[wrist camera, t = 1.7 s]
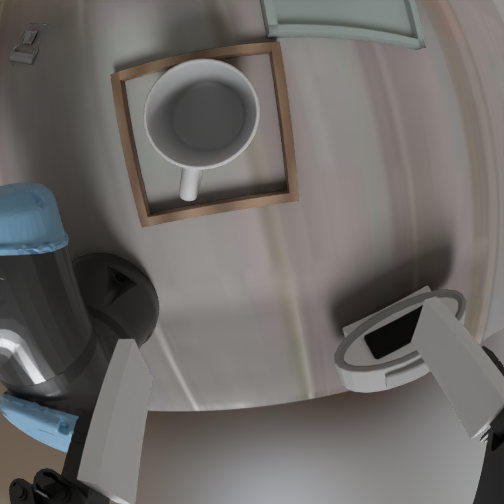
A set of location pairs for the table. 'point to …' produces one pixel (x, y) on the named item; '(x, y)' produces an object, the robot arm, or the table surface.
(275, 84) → the frame
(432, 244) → the table surface
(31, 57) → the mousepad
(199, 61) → the mug
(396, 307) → the alarm clock
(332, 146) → the table surface
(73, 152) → the table surface
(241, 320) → the table surface
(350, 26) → the tray
